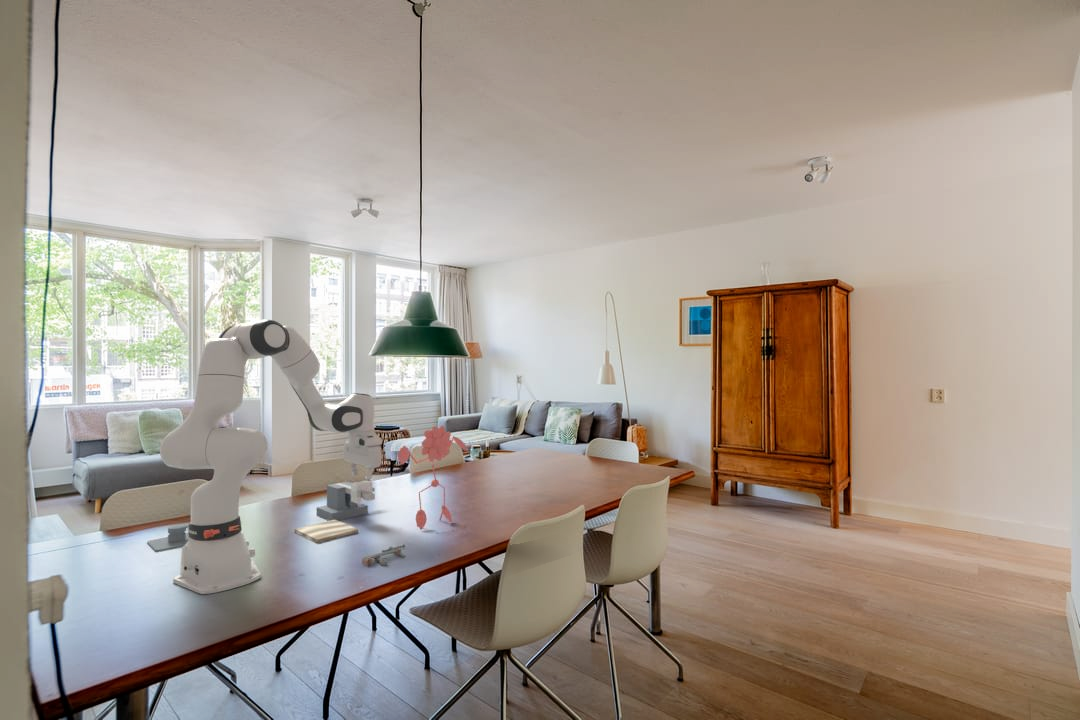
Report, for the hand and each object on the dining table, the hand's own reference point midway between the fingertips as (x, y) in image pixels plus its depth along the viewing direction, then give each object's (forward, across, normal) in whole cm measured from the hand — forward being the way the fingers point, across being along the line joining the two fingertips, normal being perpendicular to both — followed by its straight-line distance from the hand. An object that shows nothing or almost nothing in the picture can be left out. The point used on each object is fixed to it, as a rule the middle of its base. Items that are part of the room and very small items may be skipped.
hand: (361, 476), depth 188 cm
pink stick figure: (+16, +27, +14) cm, 34 cm away
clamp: (+16, +38, -14) cm, 44 cm away
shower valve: (+16, -24, -49) cm, 57 cm away
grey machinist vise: (+16, -6, +3) cm, 17 cm away
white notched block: (+8, 0, 0) cm, 8 cm away
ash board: (+16, +2, -14) cm, 21 cm away
